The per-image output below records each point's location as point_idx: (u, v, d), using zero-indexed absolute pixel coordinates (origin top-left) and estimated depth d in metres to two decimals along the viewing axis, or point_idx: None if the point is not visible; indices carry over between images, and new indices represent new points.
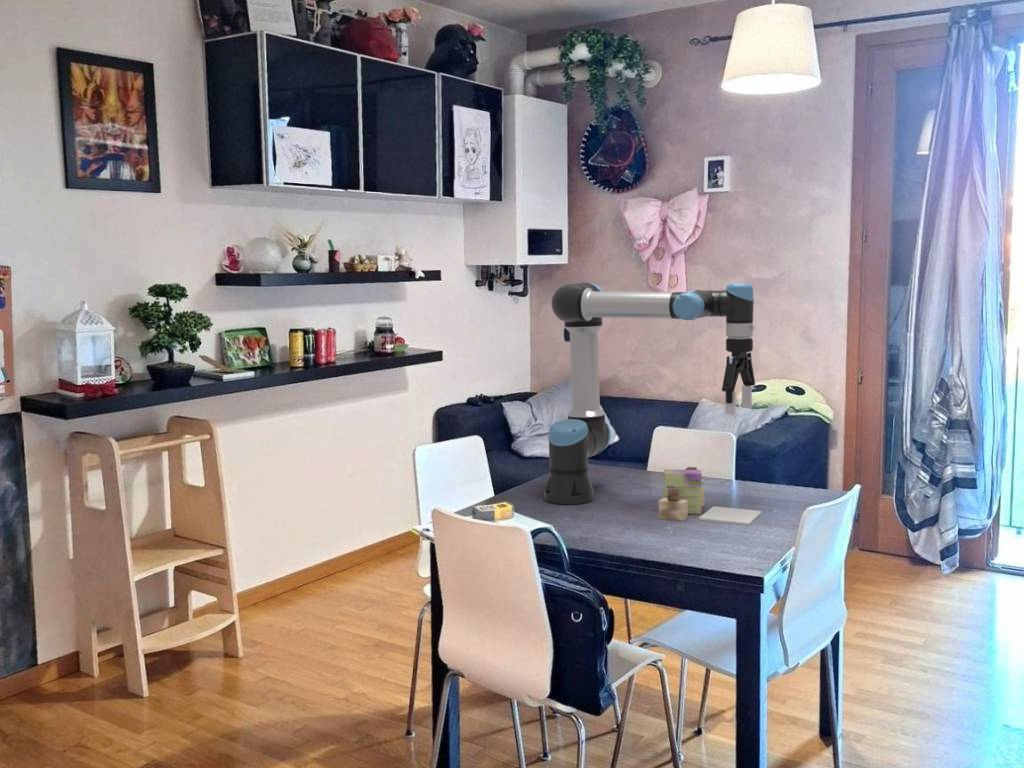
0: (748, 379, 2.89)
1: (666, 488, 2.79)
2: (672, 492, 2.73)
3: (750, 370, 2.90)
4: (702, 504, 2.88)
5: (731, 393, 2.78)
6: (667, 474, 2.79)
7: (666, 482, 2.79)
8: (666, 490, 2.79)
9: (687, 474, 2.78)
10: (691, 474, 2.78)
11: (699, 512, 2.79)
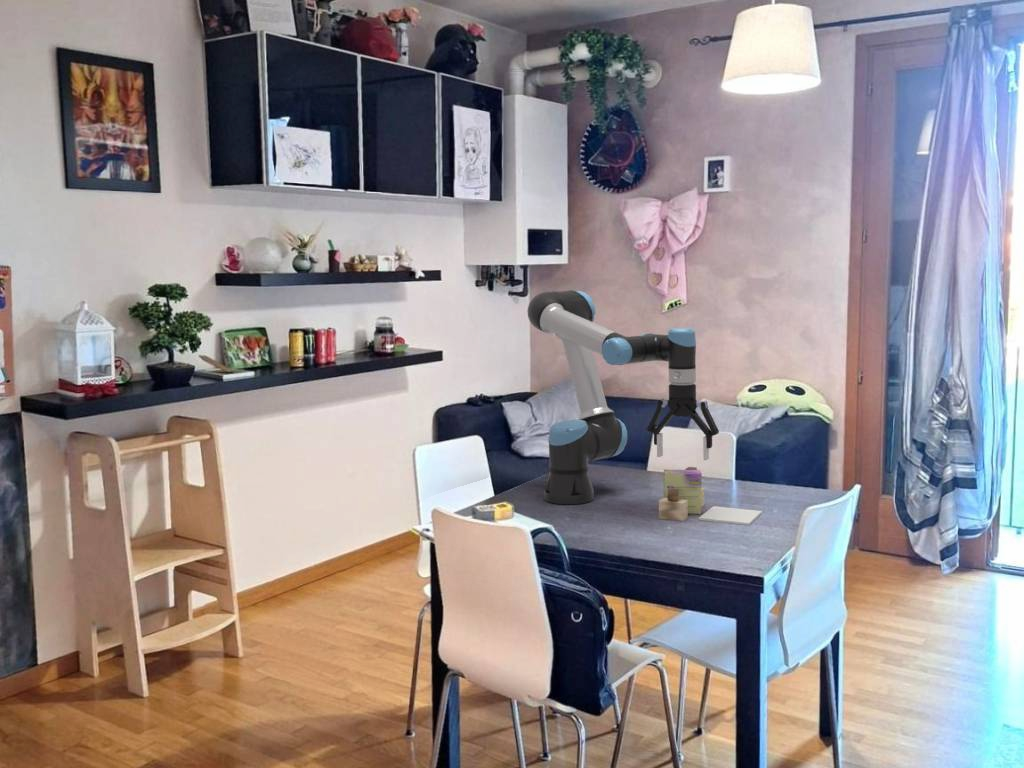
0: None
1: (666, 488, 2.79)
2: (672, 492, 2.73)
3: None
4: (702, 504, 2.88)
5: (655, 435, 2.83)
6: (667, 474, 2.79)
7: (666, 482, 2.79)
8: (666, 490, 2.79)
9: (687, 474, 2.78)
10: (691, 474, 2.78)
11: (699, 512, 2.79)
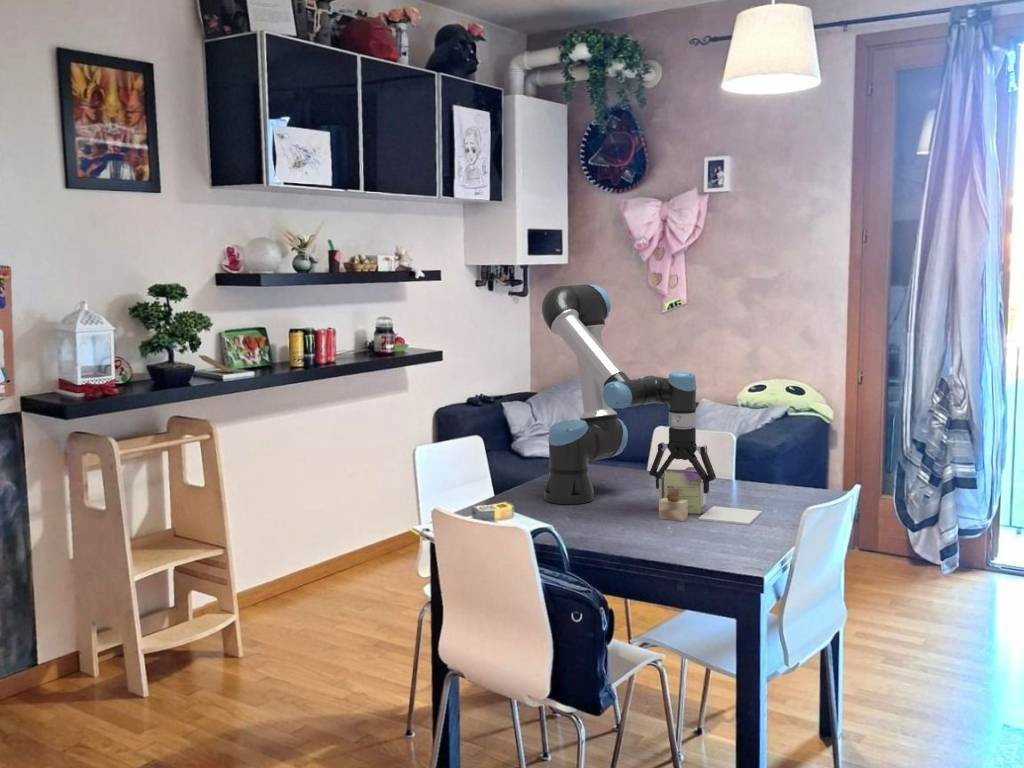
0: None
1: (666, 488, 2.79)
2: (672, 492, 2.73)
3: None
4: None
5: (657, 479, 2.84)
6: (667, 474, 2.79)
7: (666, 482, 2.79)
8: (666, 490, 2.79)
9: (687, 474, 2.78)
10: (691, 474, 2.78)
11: (699, 512, 2.79)
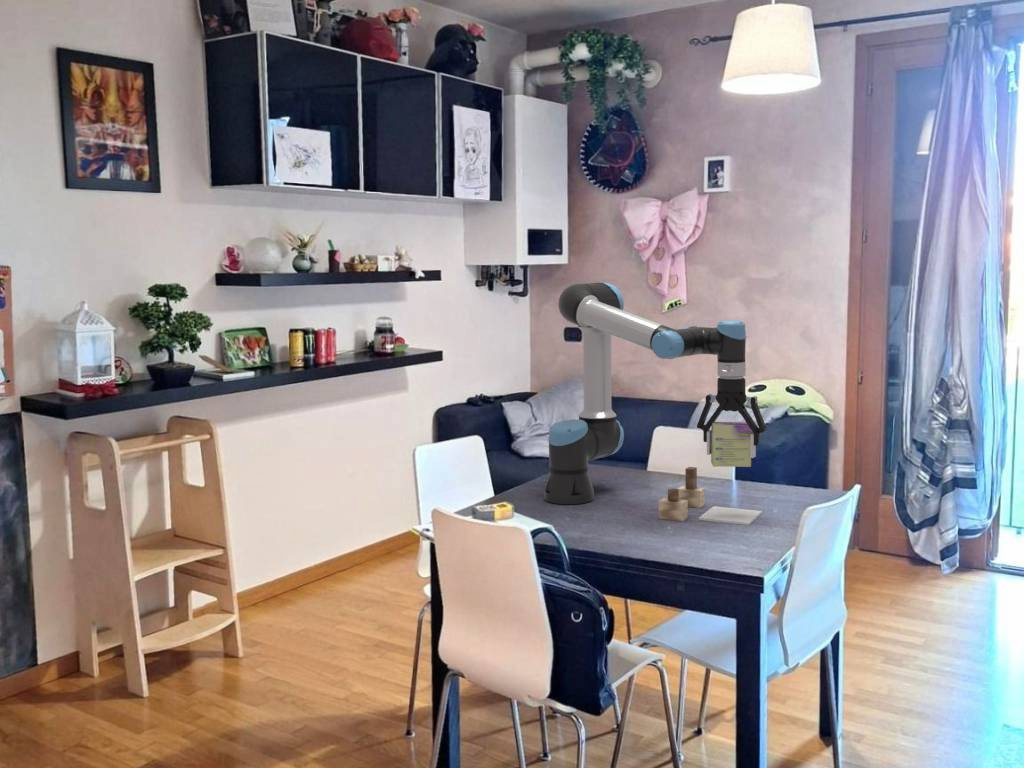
0: None
1: (715, 440, 2.71)
2: (672, 492, 2.73)
3: None
4: (702, 504, 2.88)
5: (705, 432, 2.76)
6: (716, 426, 2.70)
7: (715, 434, 2.71)
8: (715, 442, 2.71)
9: (736, 425, 2.70)
10: (741, 425, 2.70)
11: (749, 465, 2.71)
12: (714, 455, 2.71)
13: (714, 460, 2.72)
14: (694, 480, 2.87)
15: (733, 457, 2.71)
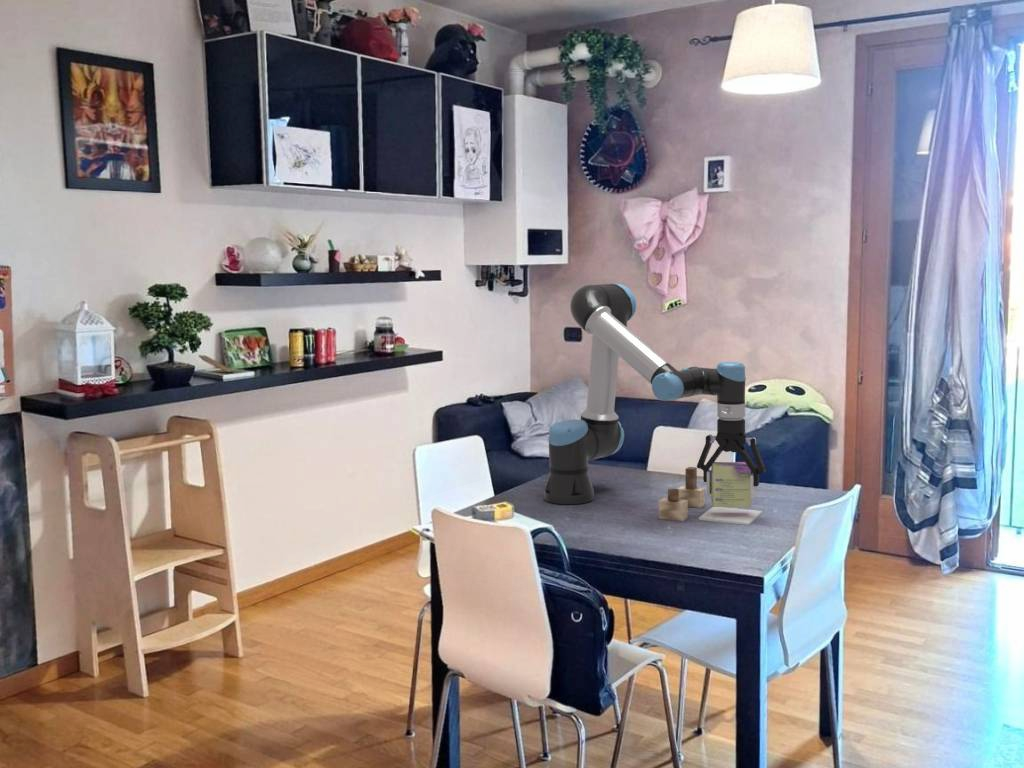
0: None
1: (715, 481, 2.72)
2: (672, 492, 2.73)
3: None
4: (702, 504, 2.88)
5: (705, 472, 2.77)
6: (716, 466, 2.72)
7: (715, 475, 2.72)
8: (715, 483, 2.72)
9: (736, 466, 2.71)
10: (740, 466, 2.71)
11: (749, 505, 2.72)
12: (714, 496, 2.73)
13: (714, 501, 2.73)
14: (694, 480, 2.87)
15: (733, 497, 2.72)
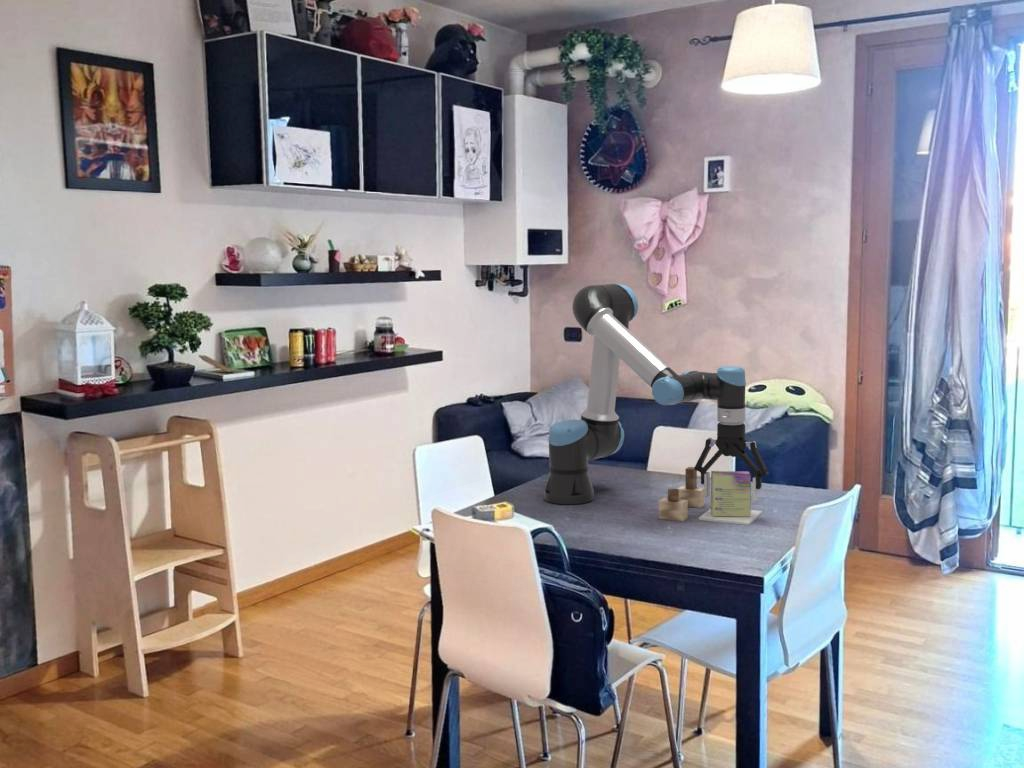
0: None
1: (714, 490, 2.73)
2: (672, 492, 2.73)
3: None
4: (702, 504, 2.88)
5: (702, 474, 2.78)
6: (715, 476, 2.72)
7: (714, 484, 2.72)
8: (714, 492, 2.73)
9: (736, 476, 2.72)
10: (740, 476, 2.72)
11: (748, 515, 2.73)
12: (714, 505, 2.73)
13: (714, 510, 2.73)
14: (694, 480, 2.87)
15: (732, 507, 2.73)
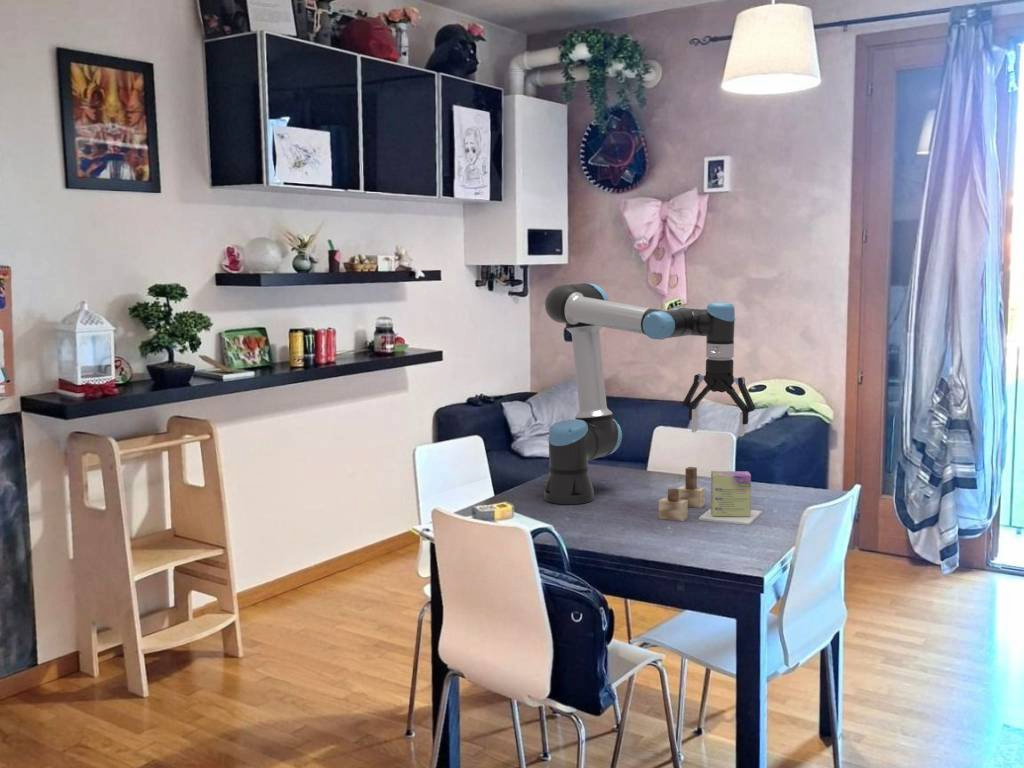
0: None
1: (714, 490, 2.73)
2: (672, 492, 2.73)
3: None
4: (702, 504, 2.88)
5: (690, 410, 2.81)
6: (715, 476, 2.72)
7: (714, 484, 2.72)
8: (714, 492, 2.73)
9: (736, 476, 2.72)
10: (740, 476, 2.72)
11: (748, 515, 2.73)
12: (714, 505, 2.73)
13: (714, 510, 2.73)
14: (694, 480, 2.87)
15: (732, 507, 2.73)
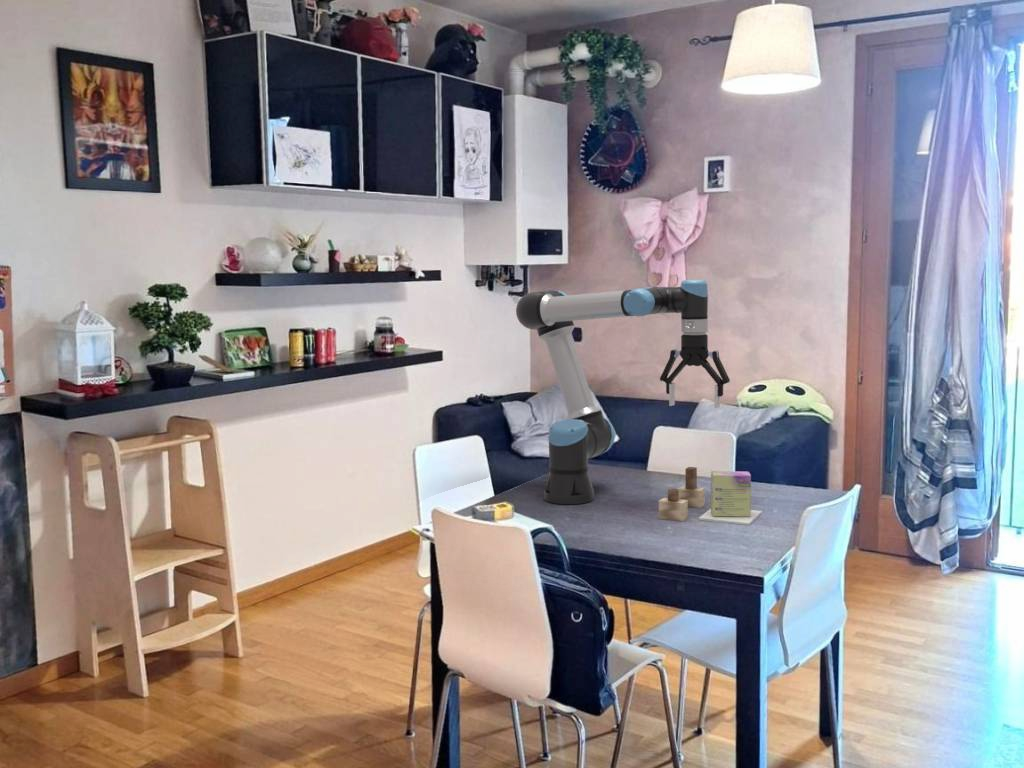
0: None
1: (714, 490, 2.73)
2: (672, 492, 2.73)
3: None
4: (702, 504, 2.88)
5: (667, 384, 2.91)
6: (715, 476, 2.72)
7: (714, 484, 2.72)
8: (714, 492, 2.73)
9: (736, 476, 2.72)
10: (740, 476, 2.72)
11: (748, 515, 2.73)
12: (714, 505, 2.73)
13: (714, 510, 2.73)
14: (694, 480, 2.87)
15: (732, 507, 2.73)
